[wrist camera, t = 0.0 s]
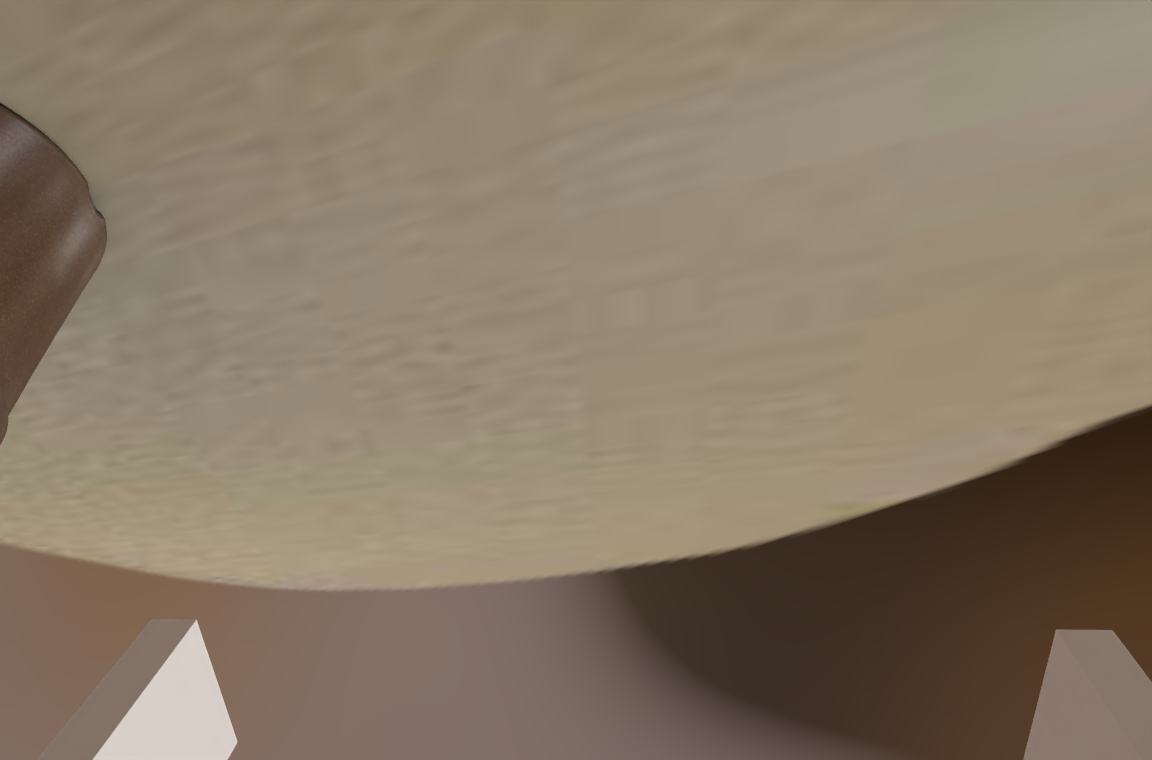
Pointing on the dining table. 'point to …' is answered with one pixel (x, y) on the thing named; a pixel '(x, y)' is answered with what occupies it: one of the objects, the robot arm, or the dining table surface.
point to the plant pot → (39, 250)
